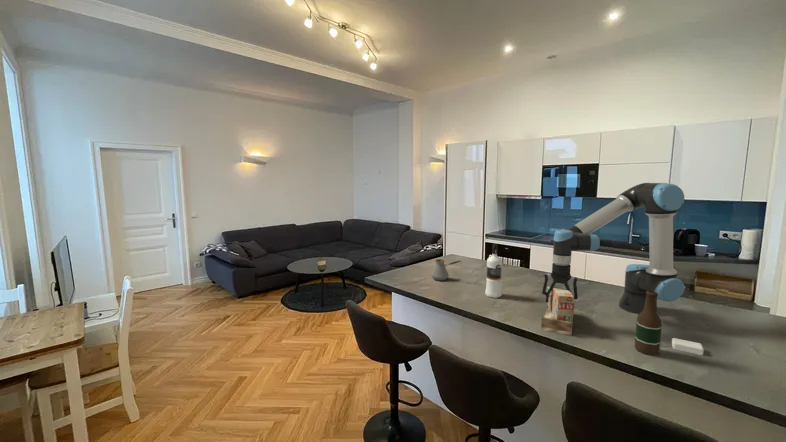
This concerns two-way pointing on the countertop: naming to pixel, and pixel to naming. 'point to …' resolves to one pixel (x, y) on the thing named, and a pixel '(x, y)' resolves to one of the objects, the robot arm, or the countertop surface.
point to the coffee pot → (441, 270)
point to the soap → (687, 346)
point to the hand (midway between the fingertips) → (558, 310)
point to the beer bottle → (648, 327)
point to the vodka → (494, 275)
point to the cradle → (556, 324)
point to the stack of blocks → (561, 303)
